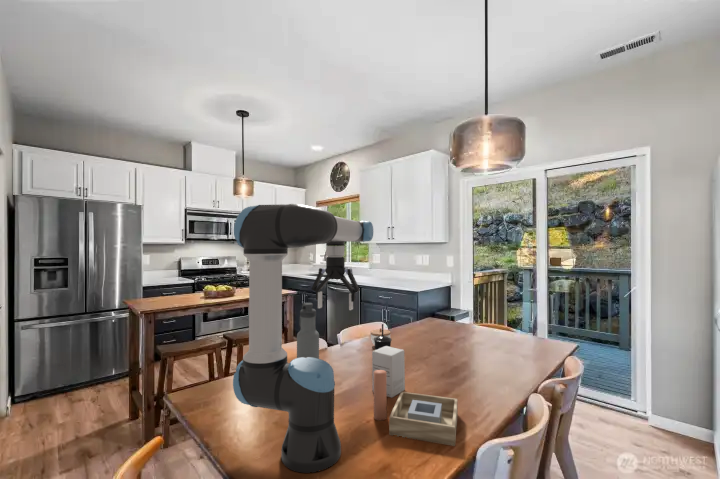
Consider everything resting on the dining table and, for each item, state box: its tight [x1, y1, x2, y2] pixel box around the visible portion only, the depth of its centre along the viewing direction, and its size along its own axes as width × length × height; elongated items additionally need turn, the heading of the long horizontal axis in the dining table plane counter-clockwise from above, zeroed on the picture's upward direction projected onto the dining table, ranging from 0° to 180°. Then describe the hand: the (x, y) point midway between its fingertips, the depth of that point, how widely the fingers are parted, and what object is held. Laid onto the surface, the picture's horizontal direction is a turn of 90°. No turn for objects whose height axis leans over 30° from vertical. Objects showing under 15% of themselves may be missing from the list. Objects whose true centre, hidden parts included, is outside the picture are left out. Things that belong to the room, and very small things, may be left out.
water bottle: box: [296, 302, 320, 359], centre depth 153 cm, size 10×10×28 cm
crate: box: [388, 391, 458, 447], centre depth 103 cm, size 18×18×5 cm
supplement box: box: [371, 346, 406, 399], centre depth 127 cm, size 9×9×15 cm
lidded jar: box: [370, 327, 392, 346], centre depth 184 cm, size 11×11×9 cm
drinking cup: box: [374, 323, 392, 350], centre depth 148 cm, size 8×8×20 cm
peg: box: [373, 370, 388, 421], centre depth 108 cm, size 4×4×14 cm
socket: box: [408, 400, 442, 424], centre depth 103 cm, size 9×9×4 cm
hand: (335, 308), depth 140 cm, fingers open, 13 cm apart
